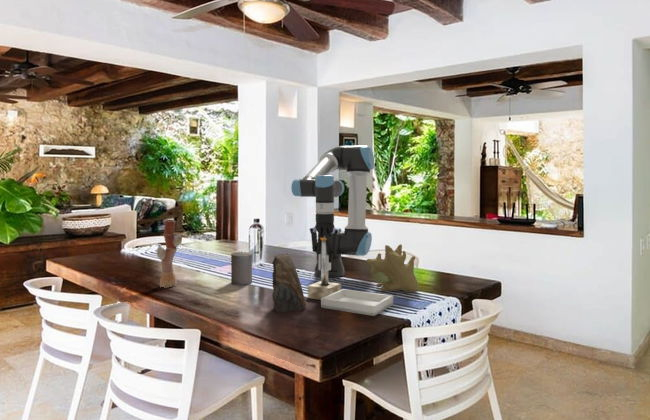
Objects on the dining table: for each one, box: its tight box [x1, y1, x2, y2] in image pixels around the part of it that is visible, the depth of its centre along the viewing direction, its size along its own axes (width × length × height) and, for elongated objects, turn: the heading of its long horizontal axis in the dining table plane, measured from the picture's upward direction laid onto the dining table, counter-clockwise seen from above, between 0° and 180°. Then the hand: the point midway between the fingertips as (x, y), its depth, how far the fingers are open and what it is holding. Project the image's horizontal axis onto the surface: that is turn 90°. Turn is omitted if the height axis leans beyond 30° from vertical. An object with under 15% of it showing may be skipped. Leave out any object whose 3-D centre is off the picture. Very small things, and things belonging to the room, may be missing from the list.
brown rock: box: [271, 253, 307, 314], centre depth 183 cm, size 13×13×20 cm
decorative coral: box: [366, 243, 419, 293], centre depth 212 cm, size 26×22×25 cm
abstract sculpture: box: [156, 219, 183, 289], centre depth 217 cm, size 10×7×30 cm
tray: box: [320, 288, 394, 317], centre depth 186 cm, size 22×18×4 cm
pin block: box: [307, 280, 342, 301], centre depth 200 cm, size 10×10×5 cm
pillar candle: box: [230, 250, 253, 286], centre depth 225 cm, size 10×10×15 cm
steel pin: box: [320, 237, 329, 286], centre depth 199 cm, size 4×4×20 cm
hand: (324, 269), depth 199 cm, fingers closed on steel pin, 3 cm apart
